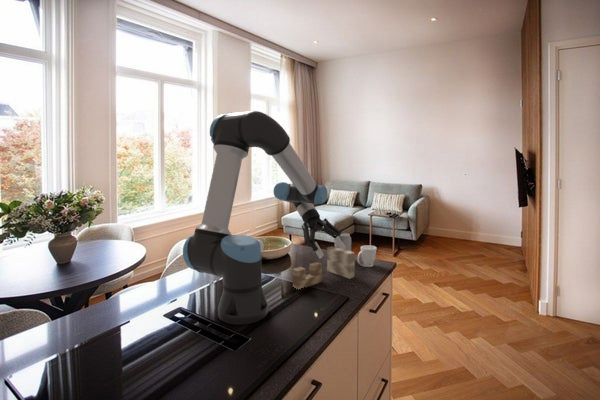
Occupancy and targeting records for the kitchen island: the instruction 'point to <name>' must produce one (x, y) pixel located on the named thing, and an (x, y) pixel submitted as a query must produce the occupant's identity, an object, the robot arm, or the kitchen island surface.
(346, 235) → the can
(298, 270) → the oak slot board
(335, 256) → the cream wavy slab
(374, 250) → the cup
